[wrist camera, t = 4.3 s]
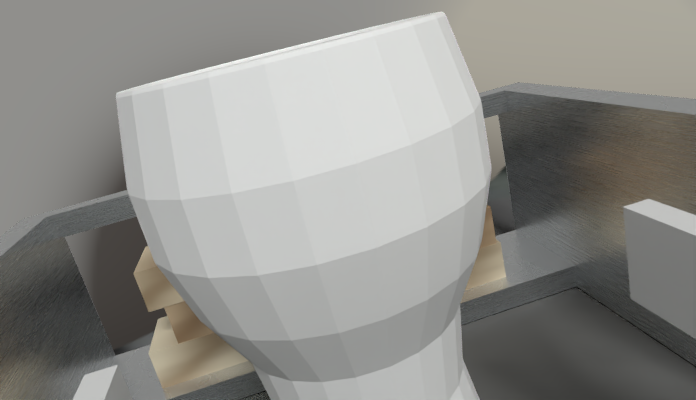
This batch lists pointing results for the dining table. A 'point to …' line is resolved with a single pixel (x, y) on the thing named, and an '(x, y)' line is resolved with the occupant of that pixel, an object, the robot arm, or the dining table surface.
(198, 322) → the offcut bundle
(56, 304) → the grey open storage bin
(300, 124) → the cup
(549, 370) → the dining table surface
